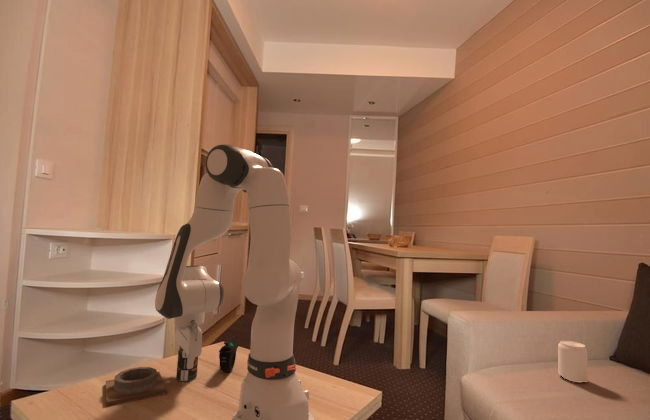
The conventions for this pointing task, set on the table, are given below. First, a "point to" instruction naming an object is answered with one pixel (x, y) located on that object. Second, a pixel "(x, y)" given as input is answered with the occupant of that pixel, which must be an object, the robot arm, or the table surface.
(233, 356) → the controller
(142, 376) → the holder
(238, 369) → the table surface
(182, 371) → the pill bottle
